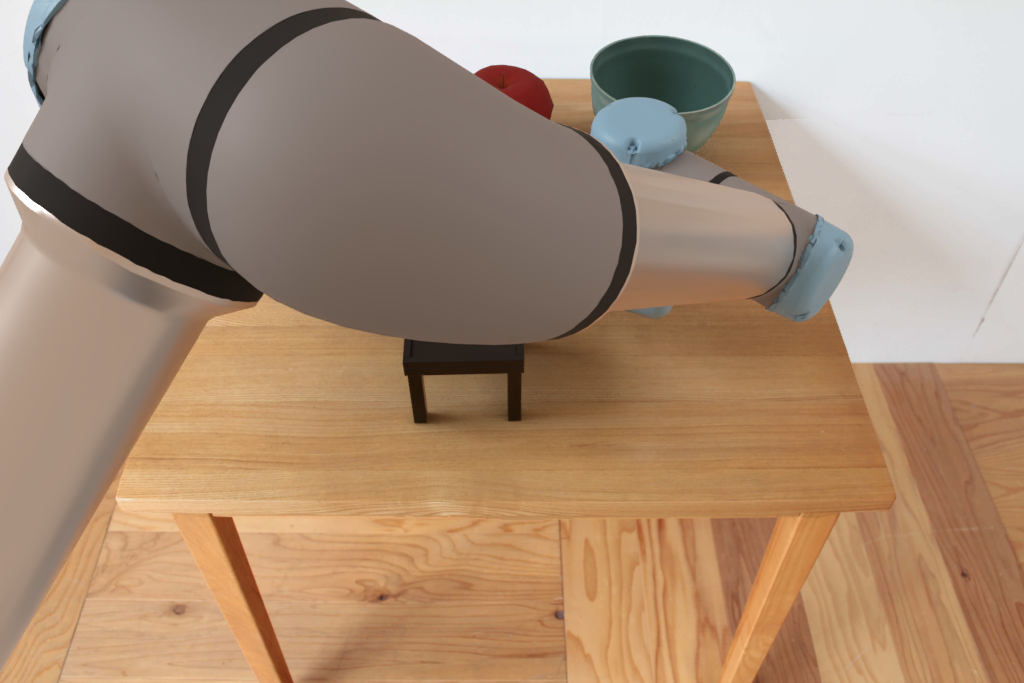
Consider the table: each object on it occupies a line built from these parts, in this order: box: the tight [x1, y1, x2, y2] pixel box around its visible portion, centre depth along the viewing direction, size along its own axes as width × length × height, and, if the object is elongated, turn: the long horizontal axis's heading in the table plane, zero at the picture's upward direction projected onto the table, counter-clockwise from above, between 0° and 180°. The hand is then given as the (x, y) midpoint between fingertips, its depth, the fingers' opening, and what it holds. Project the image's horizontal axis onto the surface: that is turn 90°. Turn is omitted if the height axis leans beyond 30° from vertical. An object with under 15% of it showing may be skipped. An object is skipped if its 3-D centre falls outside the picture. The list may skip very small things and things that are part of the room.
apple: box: [473, 64, 555, 121], centre depth 98 cm, size 11×11×12 cm
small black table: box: [401, 338, 525, 424], centre depth 76 cm, size 10×10×9 cm
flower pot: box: [589, 34, 737, 154], centre depth 99 cm, size 16×16×11 cm
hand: (326, 159), depth 87 cm, fingers closed on blue cup, 7 cm apart
